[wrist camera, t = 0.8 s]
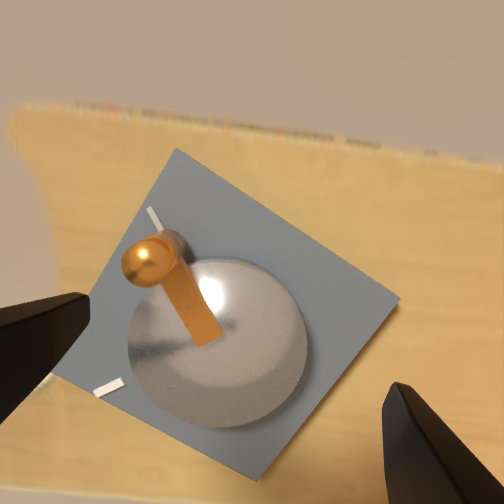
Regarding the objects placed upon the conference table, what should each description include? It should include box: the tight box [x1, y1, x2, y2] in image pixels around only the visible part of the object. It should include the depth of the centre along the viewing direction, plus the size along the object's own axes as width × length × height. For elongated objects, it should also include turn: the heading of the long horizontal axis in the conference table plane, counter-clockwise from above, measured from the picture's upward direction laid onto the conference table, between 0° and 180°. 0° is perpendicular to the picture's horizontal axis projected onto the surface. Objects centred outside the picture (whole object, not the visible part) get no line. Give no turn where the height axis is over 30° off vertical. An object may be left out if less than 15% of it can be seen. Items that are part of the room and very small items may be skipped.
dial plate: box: [51, 148, 401, 482], centre depth 25 cm, size 19×19×2 cm
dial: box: [121, 229, 307, 428], centre depth 21 cm, size 15×12×6 cm
